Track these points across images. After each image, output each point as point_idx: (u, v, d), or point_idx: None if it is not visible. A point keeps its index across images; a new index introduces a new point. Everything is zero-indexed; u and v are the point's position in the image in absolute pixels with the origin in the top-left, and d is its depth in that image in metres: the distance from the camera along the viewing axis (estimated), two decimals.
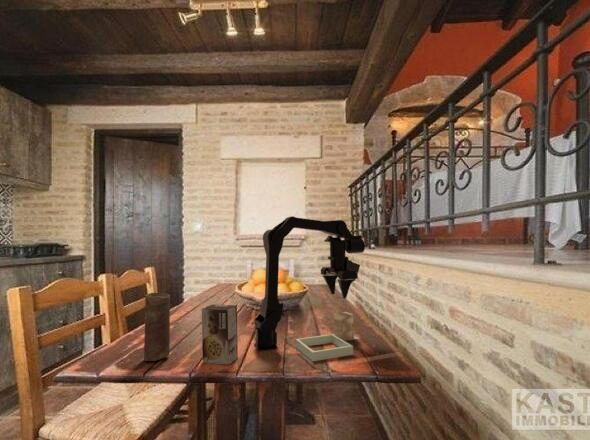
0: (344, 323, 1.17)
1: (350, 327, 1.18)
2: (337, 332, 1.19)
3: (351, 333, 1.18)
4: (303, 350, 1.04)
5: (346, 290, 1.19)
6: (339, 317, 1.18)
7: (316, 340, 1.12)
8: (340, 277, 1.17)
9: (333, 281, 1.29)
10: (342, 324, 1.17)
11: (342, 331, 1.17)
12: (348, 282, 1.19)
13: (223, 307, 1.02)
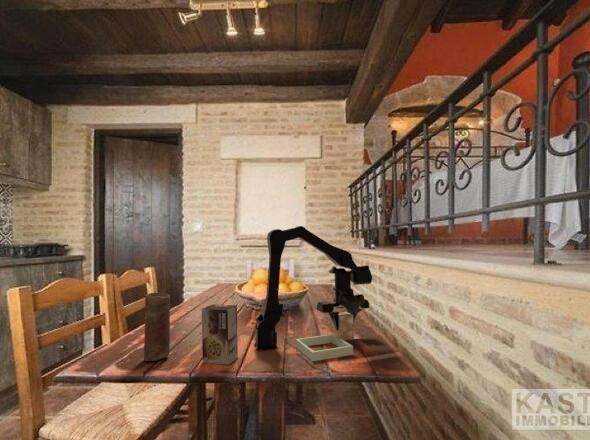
0: (344, 323, 1.17)
1: (350, 327, 1.18)
2: (337, 332, 1.19)
3: (351, 333, 1.18)
4: (303, 350, 1.04)
5: (334, 322, 1.19)
6: (339, 317, 1.18)
7: (316, 340, 1.12)
8: None
9: None
10: (342, 324, 1.17)
11: (342, 331, 1.17)
12: None
13: (223, 307, 1.02)
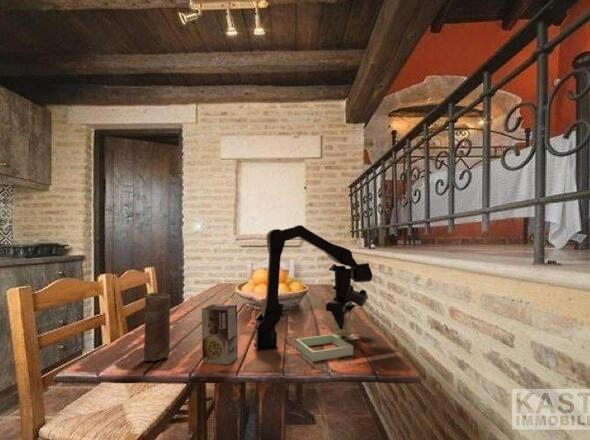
0: (348, 320, 1.18)
1: (351, 323, 1.20)
2: (340, 330, 1.18)
3: (352, 329, 1.20)
4: (303, 350, 1.04)
5: (340, 321, 1.17)
6: (344, 315, 1.17)
7: (316, 340, 1.12)
8: None
9: None
10: (348, 321, 1.17)
11: (348, 328, 1.17)
12: (341, 313, 1.16)
13: (223, 307, 1.02)
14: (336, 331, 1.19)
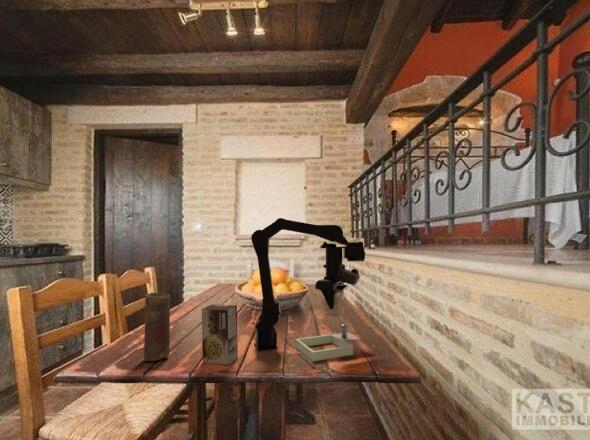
0: (339, 300, 1.12)
1: (342, 304, 1.14)
2: (331, 311, 1.12)
3: (343, 310, 1.15)
4: (303, 350, 1.04)
5: (330, 300, 1.11)
6: (335, 294, 1.12)
7: (316, 340, 1.12)
8: None
9: None
10: (339, 301, 1.12)
11: (339, 308, 1.12)
12: (331, 292, 1.11)
13: (223, 307, 1.02)
14: (326, 311, 1.13)
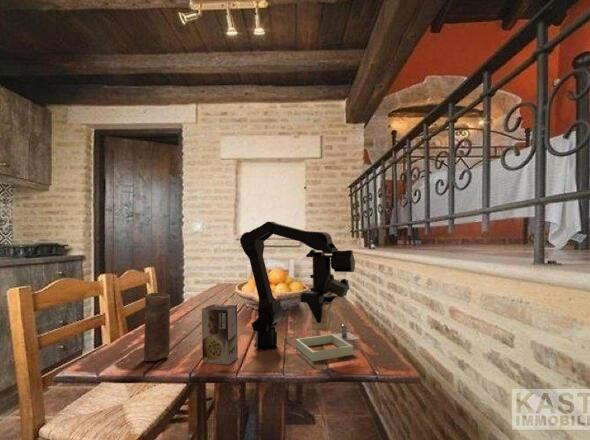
0: (328, 313, 1.04)
1: (331, 317, 1.06)
2: (318, 325, 1.04)
3: (332, 323, 1.06)
4: (303, 350, 1.04)
5: (317, 314, 1.03)
6: (322, 307, 1.04)
7: (316, 340, 1.12)
8: None
9: None
10: (327, 314, 1.04)
11: (327, 322, 1.03)
12: (318, 305, 1.02)
13: (223, 307, 1.02)
14: (314, 325, 1.05)
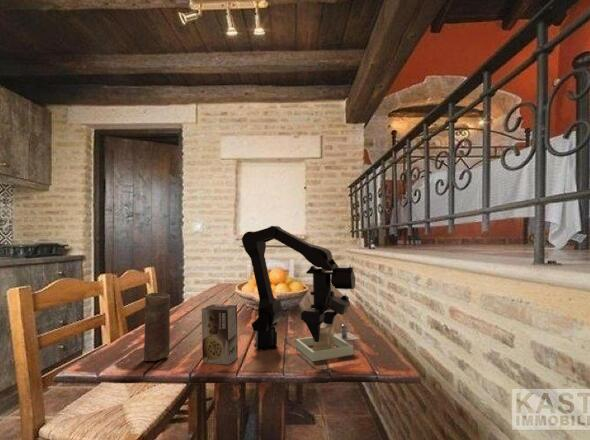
0: (328, 336, 1.04)
1: (332, 339, 1.06)
2: (319, 348, 1.04)
3: (332, 345, 1.06)
4: (303, 350, 1.04)
5: (315, 333, 1.01)
6: (323, 330, 1.03)
7: None
8: None
9: (330, 319, 1.10)
10: (328, 337, 1.03)
11: (328, 345, 1.03)
12: (316, 324, 1.01)
13: (223, 307, 1.02)
14: (314, 348, 1.05)
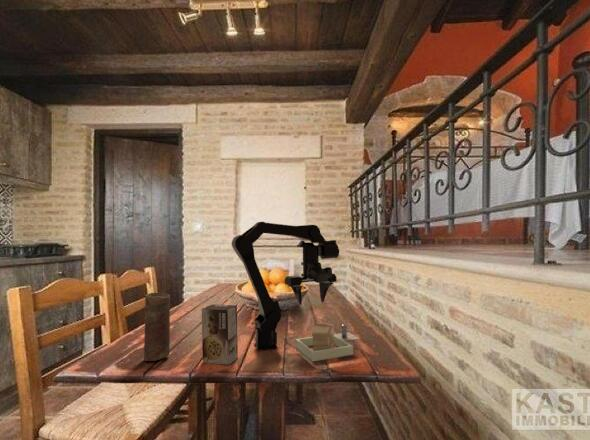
0: (328, 336, 1.04)
1: (332, 339, 1.06)
2: (319, 348, 1.04)
3: (332, 345, 1.06)
4: (303, 350, 1.04)
5: (297, 296, 1.18)
6: (323, 330, 1.03)
7: None
8: None
9: (323, 288, 1.22)
10: (328, 337, 1.03)
11: (328, 345, 1.03)
12: None
13: (223, 307, 1.02)
14: (314, 348, 1.05)
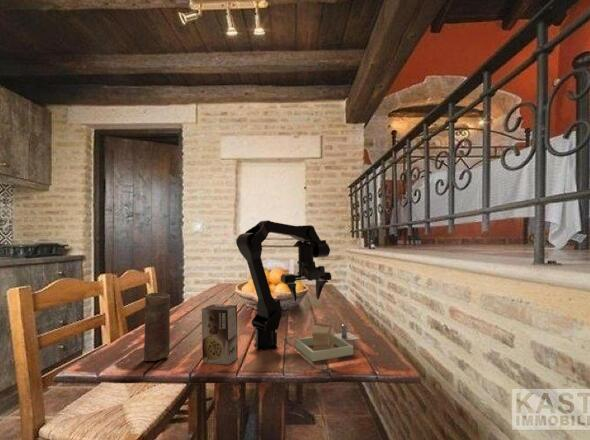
0: (328, 336, 1.04)
1: (332, 339, 1.06)
2: (319, 348, 1.04)
3: (332, 345, 1.06)
4: (303, 350, 1.04)
5: (292, 293, 1.24)
6: (323, 330, 1.03)
7: None
8: None
9: (318, 286, 1.28)
10: (328, 337, 1.03)
11: (328, 345, 1.03)
12: None
13: (223, 307, 1.02)
14: (314, 348, 1.05)
